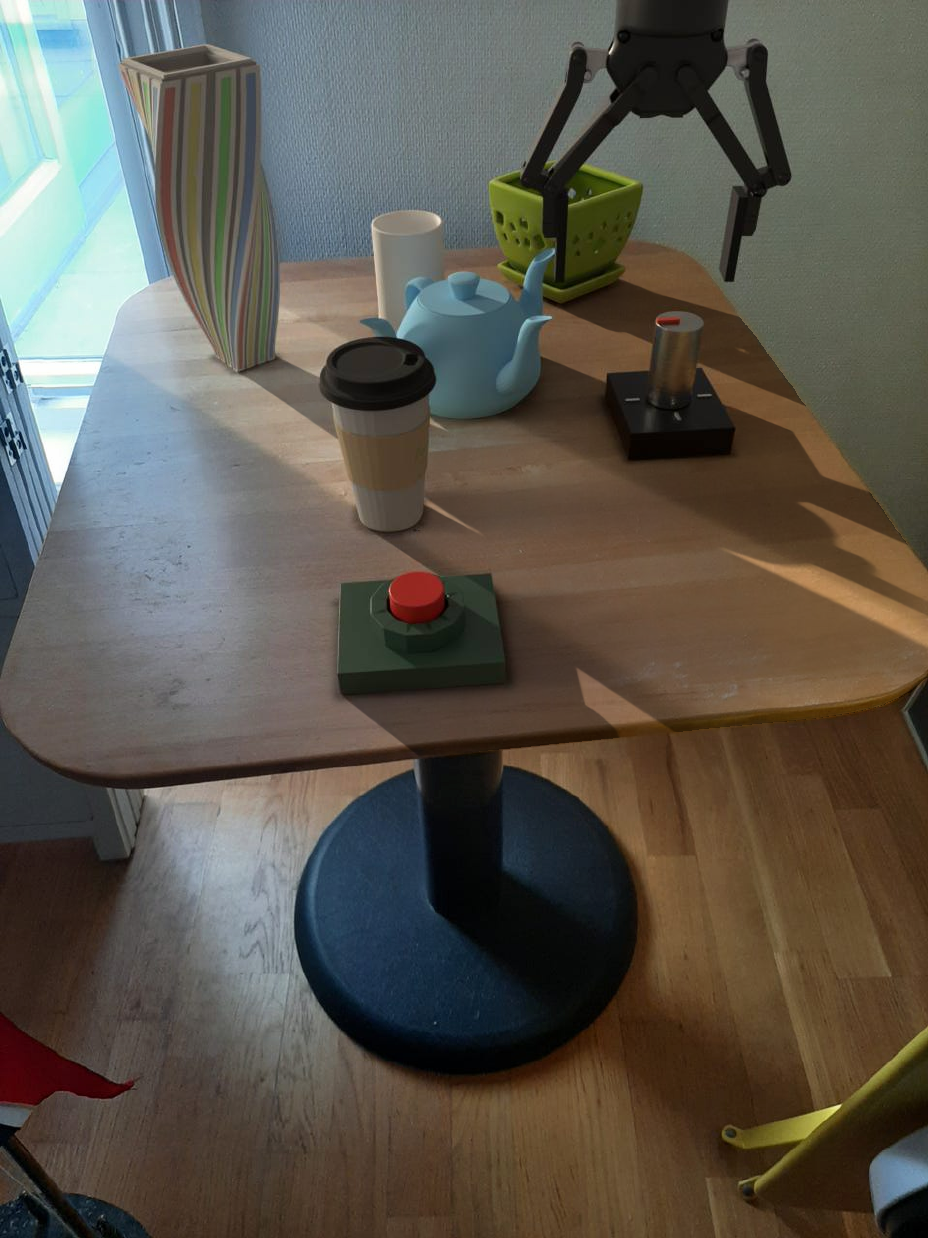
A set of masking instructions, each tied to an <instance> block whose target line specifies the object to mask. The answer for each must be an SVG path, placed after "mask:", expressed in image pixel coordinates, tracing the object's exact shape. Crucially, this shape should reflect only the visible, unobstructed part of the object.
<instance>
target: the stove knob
mask: <svg viewBox="0 0 928 1238" xmlns="http://www.w3.org/2000/svg"><path fill="white" fill-rule="evenodd" d="M704 323H705V322H704V320H703V318H701V317H700V316H699V315H697V314H695V313H692V312H688V311H682V310H681V311H680V310H674V311H673V310H672V311H665V312H663V313H660V314H659V315H657V316H656V318H655V322H654V329H653V337H652V346H651V353H650V359H649V370H648V371H649V376H648V384H647V392H646V399H647V401H648V402H649V403H650V404H652V405H654V406H656V407H659V408H663V409H680V408H683V407H685V406H687V405H688V404H689V403H690V402H691V398H692V392H693V386H694V380H695V373H696V368H698V367H697V366H698V361H699V355H700V349H701V341H702V336H703V329H704Z"/></svg>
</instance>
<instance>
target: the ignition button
mask: <svg viewBox="0 0 928 1238" xmlns="http://www.w3.org/2000/svg"><path fill="white" fill-rule="evenodd" d="M430 573H431V572H427V573H426V572H425V571H409V572H406V573H402V574H403V575H402V574H400V575H401V576H400V575H398V576H399V577H398V576H396V577H397V578H396V577H395V578H396V579H395V580H394V581H393V582H392V583H391V585H390V588H389V597H390V607H391V612H392V613H393V615H394V616H395V617H396V618H397V619H398V620H400V621H402V622H405V623H408V624H418V623H428V622H430V621H432V620H435V619H436V618H438V617H439V616H440V615H441V613H442V612H443V610H444V606H445V603H444V587H443V584H442V582H441V580H440V579H439V578H437V577H436V576H435V575H436V574H435V575H432V574H433V573H431V574H430Z"/></svg>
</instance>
